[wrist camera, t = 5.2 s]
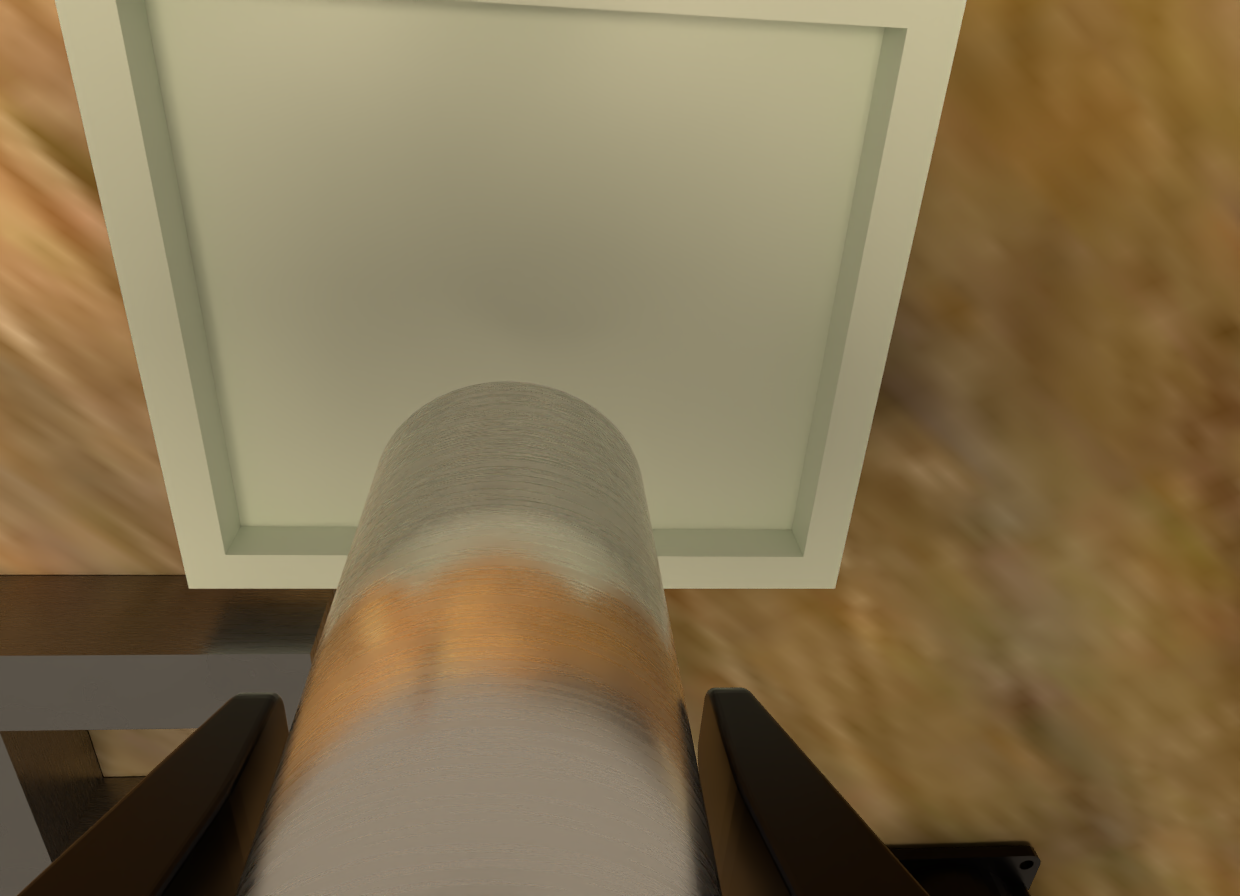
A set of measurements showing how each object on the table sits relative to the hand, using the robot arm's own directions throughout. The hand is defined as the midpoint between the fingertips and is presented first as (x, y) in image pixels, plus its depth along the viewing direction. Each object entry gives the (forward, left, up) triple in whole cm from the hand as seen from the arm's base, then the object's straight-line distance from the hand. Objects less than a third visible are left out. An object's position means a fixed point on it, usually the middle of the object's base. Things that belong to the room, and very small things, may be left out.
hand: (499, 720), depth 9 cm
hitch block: (+10, +13, -13) cm, 21 cm away
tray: (0, 0, -13) cm, 13 cm away
